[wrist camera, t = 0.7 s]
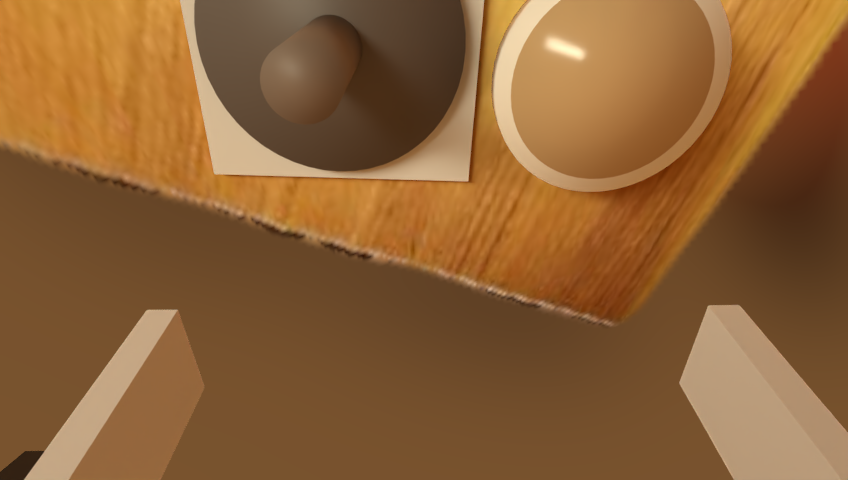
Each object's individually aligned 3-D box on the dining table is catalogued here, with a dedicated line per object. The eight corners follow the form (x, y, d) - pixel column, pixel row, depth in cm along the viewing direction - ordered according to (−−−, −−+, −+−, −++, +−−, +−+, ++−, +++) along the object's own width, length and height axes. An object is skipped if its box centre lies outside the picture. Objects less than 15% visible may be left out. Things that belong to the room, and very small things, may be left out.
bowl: (496, -54, 29) (509, -52, 24) (718, -45, 29) (770, -42, 25) (476, 158, 35) (484, 189, 31) (656, 164, 36) (689, 195, 31)
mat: (156, -144, 26) (151, -146, 26) (494, -129, 27) (495, -131, 26) (217, 170, 36) (214, 174, 35) (467, 178, 36) (468, 181, 36)
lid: (175, -121, 26) (54, -151, 18) (475, -108, 27) (502, -131, 18) (226, 161, 35) (161, 235, 26) (455, 168, 35) (467, 243, 26)
